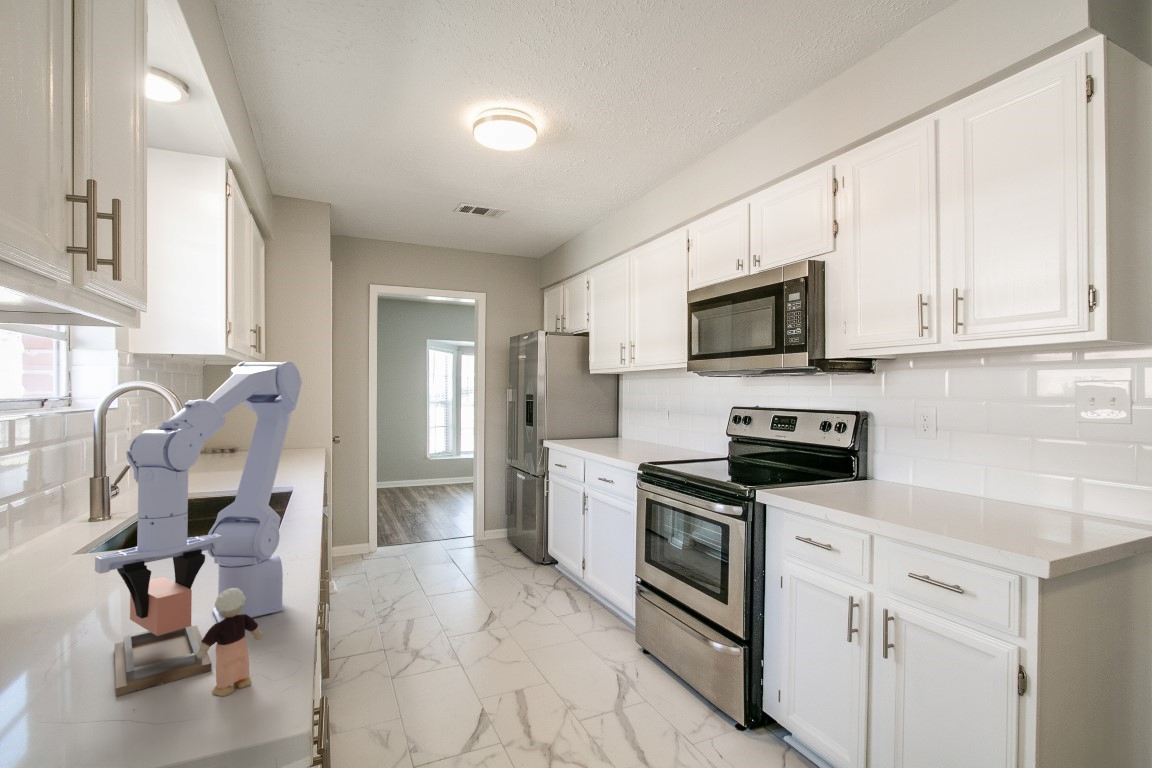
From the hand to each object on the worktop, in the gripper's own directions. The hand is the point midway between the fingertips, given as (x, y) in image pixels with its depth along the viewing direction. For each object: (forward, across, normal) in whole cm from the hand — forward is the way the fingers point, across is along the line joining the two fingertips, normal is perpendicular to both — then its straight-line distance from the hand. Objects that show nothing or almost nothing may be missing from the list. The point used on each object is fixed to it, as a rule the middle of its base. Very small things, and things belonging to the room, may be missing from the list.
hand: (161, 610), depth 78 cm
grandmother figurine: (+7, -2, +16) cm, 18 cm away
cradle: (+7, 0, 0) cm, 7 cm away
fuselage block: (+2, 0, 0) cm, 2 cm away
